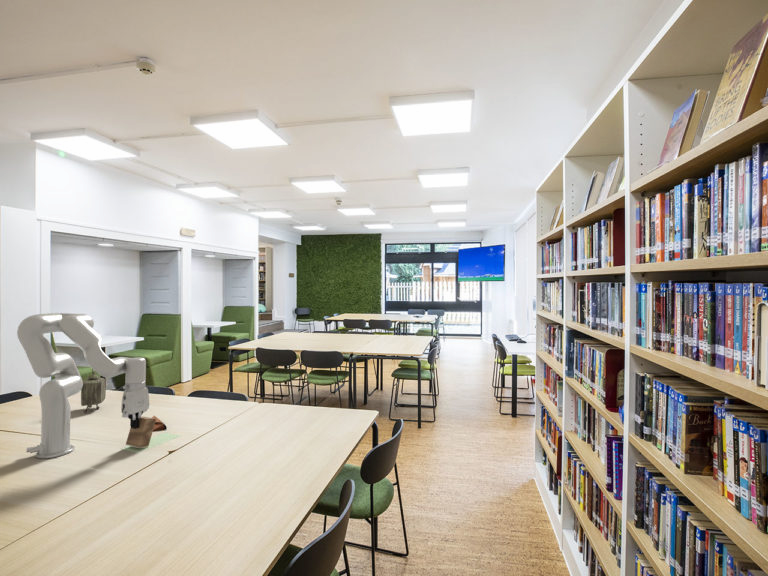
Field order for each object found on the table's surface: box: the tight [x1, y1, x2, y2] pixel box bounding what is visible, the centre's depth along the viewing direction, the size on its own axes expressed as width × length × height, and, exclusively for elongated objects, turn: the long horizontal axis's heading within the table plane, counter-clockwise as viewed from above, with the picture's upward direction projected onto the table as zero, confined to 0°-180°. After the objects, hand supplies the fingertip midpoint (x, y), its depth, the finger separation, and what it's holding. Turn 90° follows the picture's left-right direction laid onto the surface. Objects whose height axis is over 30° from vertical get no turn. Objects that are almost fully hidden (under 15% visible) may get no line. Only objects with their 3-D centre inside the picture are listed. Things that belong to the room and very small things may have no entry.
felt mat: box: [120, 432, 181, 454], centre depth 180 cm, size 22×11×1 cm, turn 158°
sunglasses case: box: [151, 415, 167, 433], centre depth 200 cm, size 18×7×7 cm
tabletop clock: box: [80, 367, 107, 413], centre depth 228 cm, size 14×9×25 cm, turn 25°
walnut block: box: [125, 416, 156, 448], centre depth 175 cm, size 5×8×12 cm, turn 68°
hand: (134, 427), depth 172 cm, fingers closed
